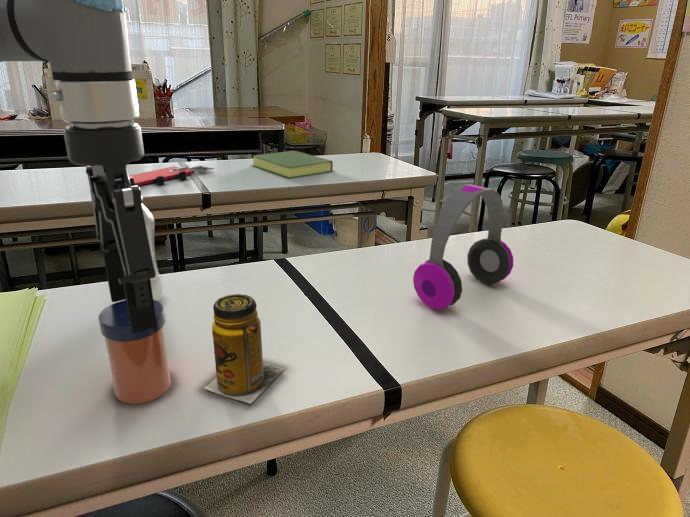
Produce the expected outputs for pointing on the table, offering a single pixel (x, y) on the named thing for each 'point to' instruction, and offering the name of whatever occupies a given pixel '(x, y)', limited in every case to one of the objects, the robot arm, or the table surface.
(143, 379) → the jar
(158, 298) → the plastic bottle
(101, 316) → the lid
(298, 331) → the table surface
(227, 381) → the condiment
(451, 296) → the headphones
